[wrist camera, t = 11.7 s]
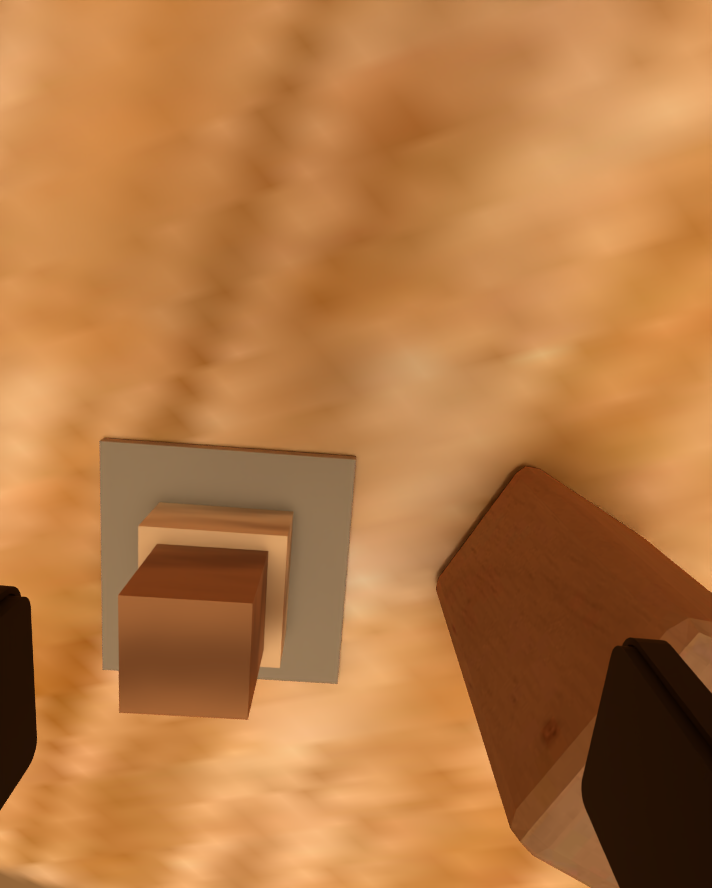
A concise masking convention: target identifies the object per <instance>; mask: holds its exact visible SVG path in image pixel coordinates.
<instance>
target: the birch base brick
mask: <svg viewBox="0 0 712 888" xmlns="http://www.w3.org/2000/svg"><path fill="white" fill-rule="evenodd" d="M292 527H293V512H292V511H278V510H264V509H250V508H235V507H221V506H207V505H192V504H178V503H164V502H159V503H158V505H157V506H156V507H155V508H154V509H153V510H152V511H151V512H150V513H149V515H148V516H147V517H146V518H145V519H144V520H143V521H142V522H141V523H140V525H139V526H138V568H139V567H140V566H141V564H142V563H143V562H144V560H145V559H146V558H147V556H148V555H149V554H150V552H151V551H152V550H153V548H154V547H155V546H156V545H157V544H169V545H184V546H200V547H215V548H231V549H247V550H262V551H268V571H267V592H266V613H265V634H264V651H263V655H262V660H261V664H260V667H271V668H280V664H281V658H282V653H283V647H284V641H285V636H286V627H287V610H288V594H289V577H290V560H291V544H292Z"/></svg>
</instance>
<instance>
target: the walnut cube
mask: <svg viewBox="0 0 712 888" xmlns="http://www.w3.org/2000/svg"><path fill="white" fill-rule="evenodd" d="M267 571H268V551H262V550H247V549H231V548H215V547H200V546H184V545H169V544H157V545H156V546H155V547H154V548H153V550H152V551H151V552H150V554H149V555H148V556H147V558H146V559H145V560H144V562H143V563H142V564H141V566H140V567H139V568H138V570H137V571H136V572H135V574H134V575H133V576H132V577H131V579H130V580H129V581H128V583H127V584H126V585H125V587H124V588H123V589H122V591H121V592H120V593H119V595H118V639H119V713H136V714H154V715H172V716H190V717H208V718H227V719H245V720H248V716H249V712H250V708H251V703H252V699H253V694H254V690H255V686H256V681H257V677H258V673H259V668H260V664H261V660H262V655H263V651H264V634H265V613H266V592H267Z"/></svg>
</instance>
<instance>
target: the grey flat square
mask: <svg viewBox="0 0 712 888" xmlns="http://www.w3.org/2000/svg"><path fill="white" fill-rule="evenodd" d="M355 466H356V456H344V455H330V454H317V453H303V452H289V451H276V450H262V449H248V448H235V447H221V446H208V445H194V444H180V443H167V442H153V441H139V440H126V439H112V438H104V439H102V440H100V504H101V580H102V656H103V670H117V671H119V639H118V595H119V593H120V592H121V591H122V589H123V588H124V587H125V585H126V584H127V583H128V581H129V580H130V579H131V577H132V576H133V575H134V574H135V572H136V571H137V570H138V526H139V525H140V523H141V522H142V521H143V520H144V519H145V518H146V517H147V516H148V515H149V513H150V512H151V511H152V510H153V509H154V508H155V507H156V506H157V505H158V503H159V502H164V503H178V504H192V505H207V506H221V507H235V508H250V509H264V510H278V511H292V512H293V527H292V544H291V560H290V577H289V594H288V610H287V627H286V636H285V641H284V647H283V653H282V658H281V664H280V668H271V667H260V668H259V673H258V677H257V679H265V680H282V681H298V682H315V683H331V684H338V672H339V659H340V647H341V635H342V623H343V611H344V599H345V587H346V575H347V563H348V551H349V539H350V526H351V514H352V502H353V490H354V478H355Z"/></svg>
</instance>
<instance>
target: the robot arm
mask: <svg viewBox="0 0 712 888" xmlns="http://www.w3.org/2000/svg"><path fill="white" fill-rule="evenodd" d="M36 744H37V730H36V709H35V688H34V667H33V645H32V624H31V606H30V601H29V599H28V598H27V597H21V595H20V592H19V590H18V589H17V588H16V587H14V586H1V585H0V810H1V808H2V807H3V805H4V804H5V802H6V801H7V799H8V798H9V796H10V795H11V793H12V792H13V790H14V789H15V787H16V785H17V784H18V782H19V781H20V779H21V778H22V776H23V775H24V773H25V772H26V770H27V769H28V767H29V765H30V763H31V761H32V759H33V756H34V753H35V750H36ZM581 792H582V799H583V804H584V807H585V809H586V812H587V814H588V816H589V818H590V821H591V823H592V825H593V828H594V830H595V832H596V835H597V837H598V839H599V842H600V844H601V846H602V849H603V851H604V853H605V855H606V858H607V860H608V862H609V865H610V867H611V869H612V872H613V874H614V876H615V879H616V881H617V883H618V886H619V888H712V693H711V692H710V691H709V689H708V688H707V687H706V686H705V685H704V684H703V682H702V681H701V680H700V679H699V678H698V677H697V675H696V674H695V673H694V672H693V671H692V669H691V668H690V667H689V666H688V665H687V664H686V662H685V661H684V660H683V659H682V658H681V656H680V655H679V654H678V653H677V652H676V651H675V649H674V648H673V647H672V646H671V645H670V644H669V643H668V642H667V641H664V640H656V639H644V638H632V637H629V638H627V639H626V640H625V641H624V642H623V644H622V646H618V645H617V646H615V647H614V649H613V650H612V653H611V657H610V661H609V665H608V670H607V674H606V678H605V683H604V687H603V691H602V696H601V700H600V704H599V708H598V713H597V717H596V721H595V726H594V730H593V734H592V738H591V743H590V747H589V751H588V756H587V760H586V764H585V768H584V773H583V777H582V783H581Z"/></svg>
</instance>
